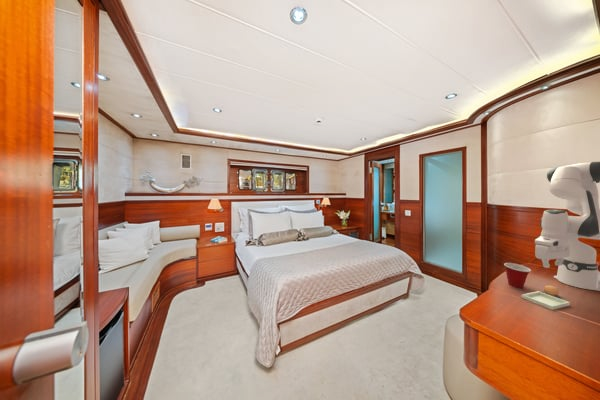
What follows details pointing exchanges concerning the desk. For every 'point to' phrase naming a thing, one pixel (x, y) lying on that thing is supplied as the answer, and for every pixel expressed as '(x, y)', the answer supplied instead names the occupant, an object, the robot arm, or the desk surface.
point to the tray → (545, 300)
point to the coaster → (555, 296)
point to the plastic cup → (516, 274)
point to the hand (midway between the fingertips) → (552, 266)
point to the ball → (551, 290)
